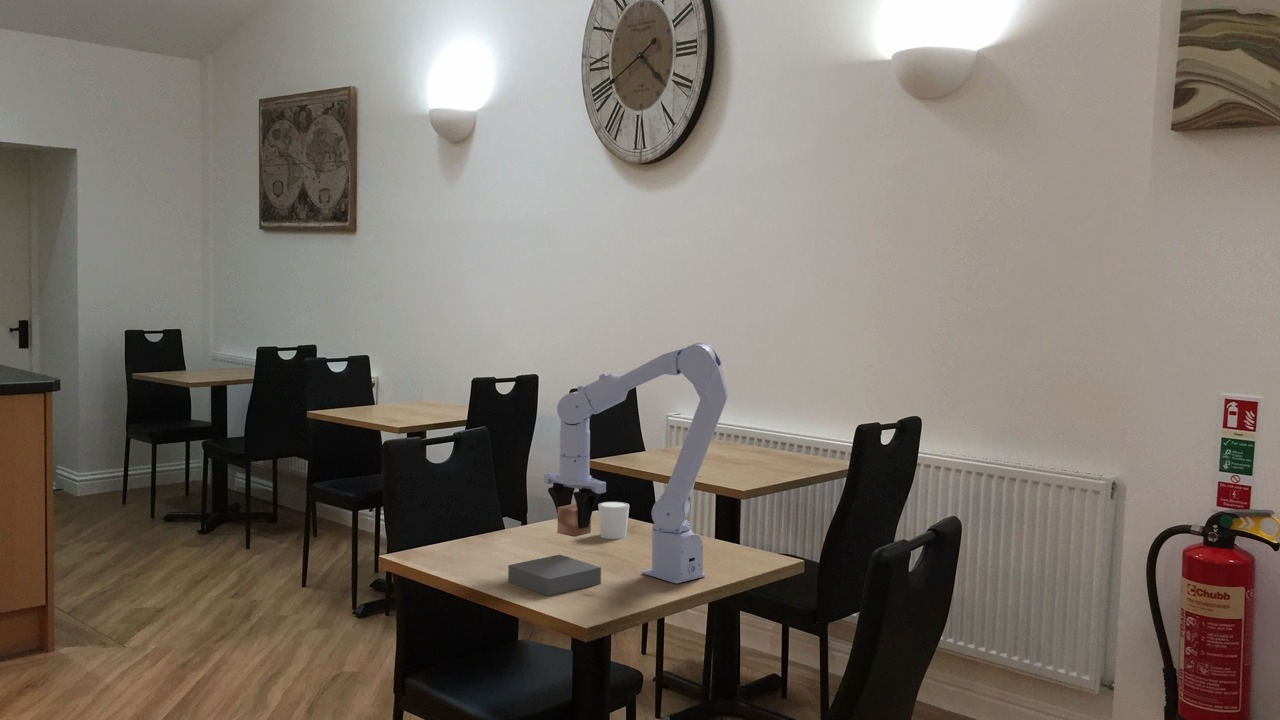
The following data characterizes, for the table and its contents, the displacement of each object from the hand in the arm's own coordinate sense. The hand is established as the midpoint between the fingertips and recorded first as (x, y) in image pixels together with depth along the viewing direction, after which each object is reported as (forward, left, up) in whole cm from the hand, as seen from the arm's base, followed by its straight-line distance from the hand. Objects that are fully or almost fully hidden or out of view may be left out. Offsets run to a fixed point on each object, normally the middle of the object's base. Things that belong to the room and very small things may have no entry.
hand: (574, 525), depth 198 cm
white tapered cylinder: (+15, -23, -9) cm, 29 cm away
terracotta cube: (0, 0, -2) cm, 2 cm away
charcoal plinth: (-5, +9, -8) cm, 13 cm away
